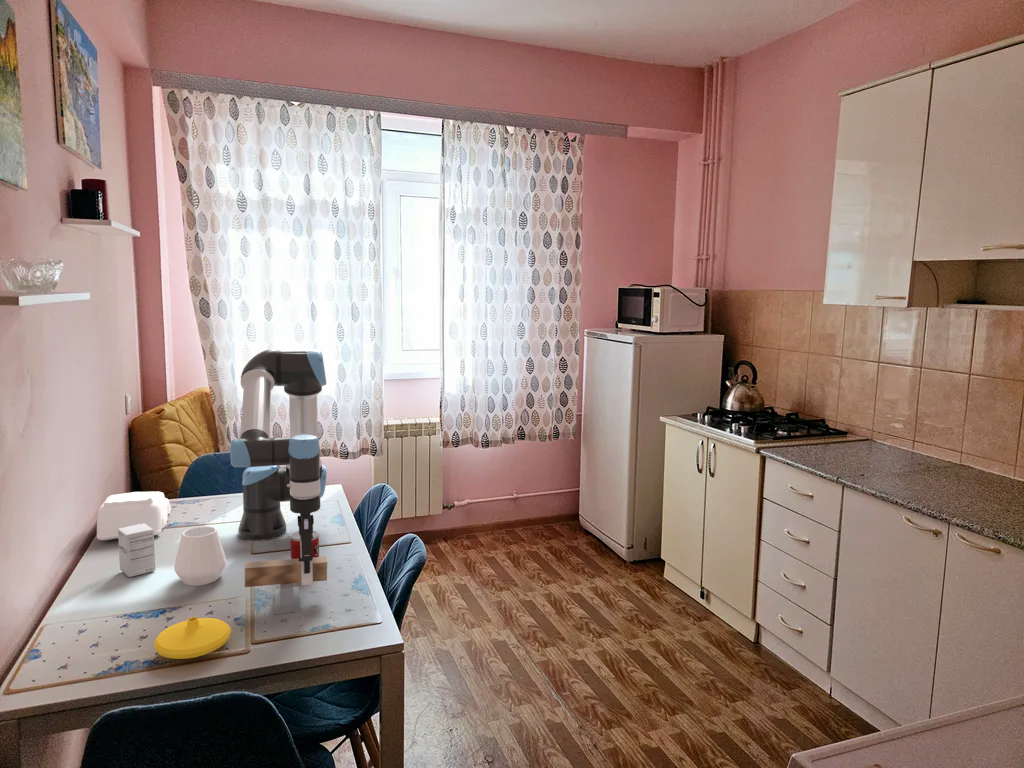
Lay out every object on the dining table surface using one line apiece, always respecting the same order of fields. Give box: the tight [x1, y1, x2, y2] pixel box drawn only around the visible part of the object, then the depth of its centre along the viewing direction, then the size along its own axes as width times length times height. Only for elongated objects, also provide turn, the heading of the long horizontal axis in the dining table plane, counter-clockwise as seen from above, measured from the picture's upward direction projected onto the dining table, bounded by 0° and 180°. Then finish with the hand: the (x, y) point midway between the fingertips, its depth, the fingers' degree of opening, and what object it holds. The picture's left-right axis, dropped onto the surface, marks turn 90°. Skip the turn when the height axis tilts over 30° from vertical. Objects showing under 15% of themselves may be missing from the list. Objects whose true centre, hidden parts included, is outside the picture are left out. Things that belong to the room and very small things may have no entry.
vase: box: [153, 616, 232, 660], centre depth 149 cm, size 16×16×7 cm
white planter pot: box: [173, 525, 228, 587], centre depth 186 cm, size 13×13×14 cm
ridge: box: [273, 583, 300, 615], centre depth 173 cm, size 12×6×6 cm, turn 18°
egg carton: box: [96, 491, 171, 541], centre depth 227 cm, size 19×30×13 cm, turn 21°
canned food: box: [290, 530, 320, 559], centre depth 193 cm, size 8×8×11 cm
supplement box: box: [118, 523, 156, 578], centre depth 190 cm, size 7×7×13 cm
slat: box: [244, 556, 328, 588], centre depth 172 cm, size 20×4×5 cm, turn 109°
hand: (306, 573), depth 174 cm, fingers open, 13 cm apart
